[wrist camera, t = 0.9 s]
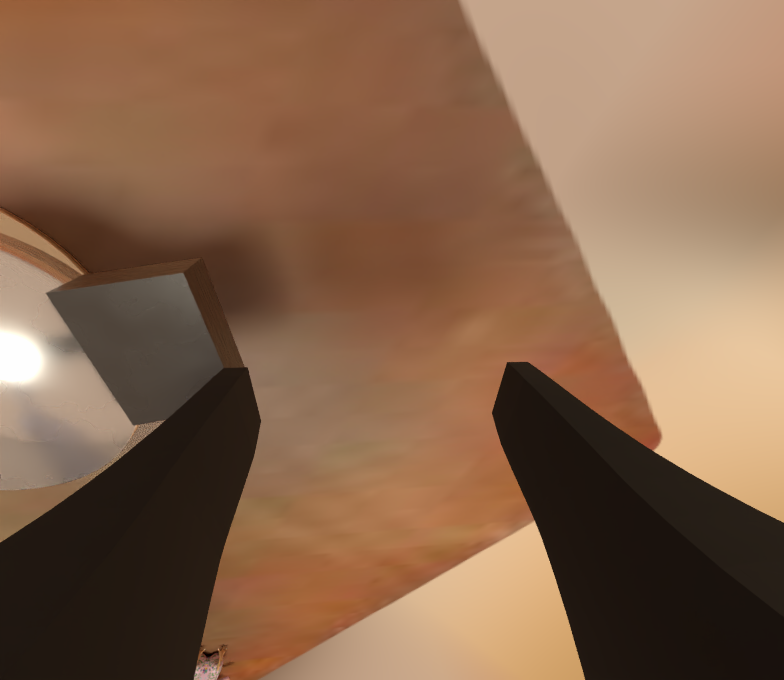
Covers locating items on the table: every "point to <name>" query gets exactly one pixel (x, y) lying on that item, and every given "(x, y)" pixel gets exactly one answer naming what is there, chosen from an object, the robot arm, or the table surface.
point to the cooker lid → (97, 358)
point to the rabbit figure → (209, 666)
